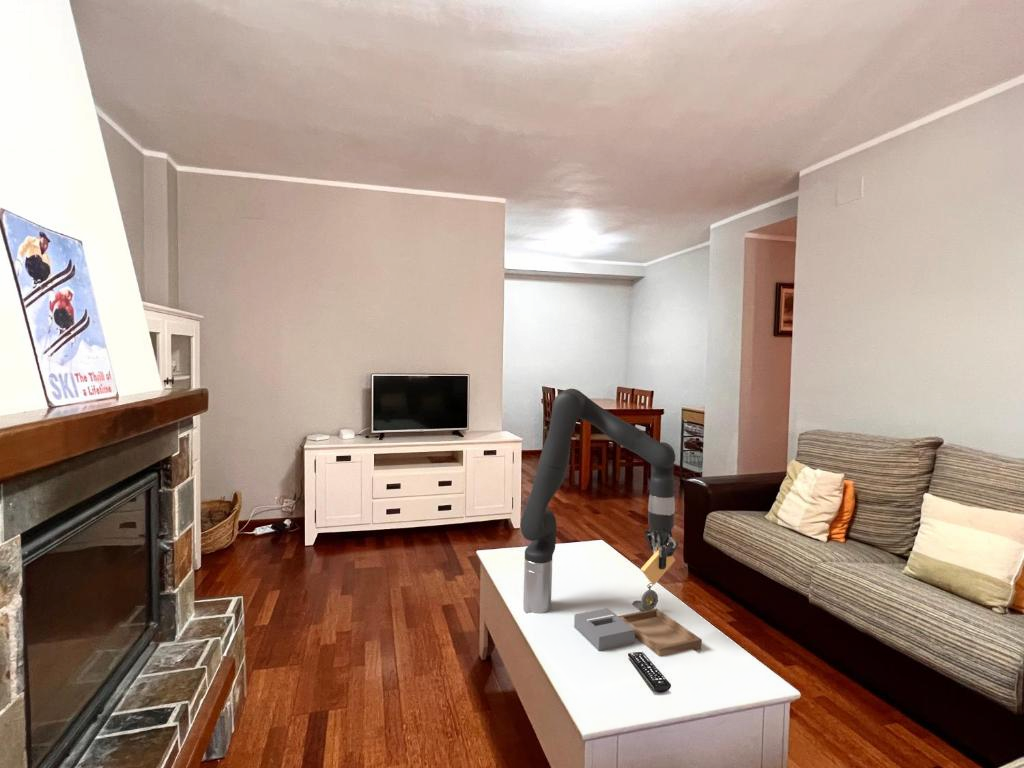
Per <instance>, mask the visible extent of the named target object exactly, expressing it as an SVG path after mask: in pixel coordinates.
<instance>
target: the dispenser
mask: <svg viewBox="0 0 1024 768" xmlns="http://www.w3.org/2000/svg"><path fill="white" fill-rule="evenodd" d="M618 616H619V615H617V614H616V613H615V612H614V611H612V610H611V609H609V608H608V607H607V608H603V609H597V610H591V611H585V612H579V613H576V614H574V621H573V622H574V623H573V628H574V629H575V630H576V631H577V632H578V633H579V634H580V635H581V636H583V638H585V639H586V640H587V642H588V643H590V645H592V646H593V647H594V649H596V651H598V652H601V651H606V650H611V649H614V648H615V649H616V648H619V647H624V646H629V645H633V644H634V645H635V638H636V637H635V629H633V628H632V627H631V626H630V625H628V624H627V623H626V622H625V621H623V620H622V619H621V618H620V617H618Z"/></svg>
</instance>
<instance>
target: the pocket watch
mask: <svg viewBox="0 0 1024 768" xmlns="http://www.w3.org/2000/svg"><path fill="white" fill-rule="evenodd" d="M653 586H654V584H652V583H651V582H650V583H648V584H647V585H646V587H647V588H648V590H646V591H645V592H643V594H642V595H641V598H640V600H635V601H633V602H632V603H631V605H632V606H633V607H635V608H636V609H637V610H639V612H641V611H647V610H652V609H655V607H657V604H658V601H659V596H658V594H657V592H656V591H655V590H653V589H652V587H653Z"/></svg>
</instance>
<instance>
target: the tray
mask: <svg viewBox="0 0 1024 768" xmlns="http://www.w3.org/2000/svg"><path fill="white" fill-rule="evenodd" d="M617 616H618V617H620V618H621V619H622V620H623V621H625V622H626V623H627V624H628V625H630V626H631V627H632V628H633V629H635V637H634V638H636V639H637V640H638V641H640V642H641V643H642V644H643V645H645V646H646V647H647V648H648V649H650V650H651V651H652V652H653V654H655V655H657V656H658V657H662V656H668V655H671V654H674V653H676V654H677V653H679V652H683V651H687V650H691V649H692V650H693V651H694V652H696V651H702V643H703V642H702V641H703V640H702V638H700V637H699V636H697V635H696V634H694V633H693V632H691V631H690V630H689V629H688V628H686V627H684V626H683V625H681V624H680V623H679V622H677V621H676V620H674V619H673V618H671V616H669V615H667V614H666V613H664V612H663V611H661V610H660V609H658V608H653V609H652V610H647V611H638V612H631V613H627V614H622V615H617Z"/></svg>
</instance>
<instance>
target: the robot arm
mask: <svg viewBox="0 0 1024 768" xmlns="http://www.w3.org/2000/svg"><path fill="white" fill-rule="evenodd" d="M551 408H552V410H551V417H550V423H549V429H548V433H547V435H546V438H545V440H544V444H543V447H542V451H541V453H540V457H539V461H538V464H537V469H536V472H535V476H534V480H533V484H532V488H531V491H530V494H529V496H528V500H527V503H526V505H525V506H524V507H525V508H524V510H523V513H522V516H521V519H520V524H519V525H520V532H521V534H522V536H523V538H524V539H525V540H527V541H530V544H528V545H527V547H526V548H525V550H524V566H523V567H524V571H523V572H524V573H523V597H522V598H523V600H522V601H523V605H522V606H523V607H522V609H523V611H524V613H526V614H545V613H548V612H549V611H551V610H552V592H553V590H552V589H553V587H552V586H553V585H552V583H553V555H554V553H555V550H556V540H557V519H556V516H555V514H554V513H553V511H552V510H551V509H548V505H549V503H550V502H551V500H552V499H553V497H554V496H555V494H556V493H557V492H558V490H559V489H560V487H561V486H562V484H563V483H564V480H565V477H566V474H567V471H568V467H569V465H570V464H569V463H570V458H571V441H572V437H573V433H574V430H575V427H576V424H577V422H578V420H583V421H585V422H587V423H589V424H591V425H593V426H594V427H596V429H598V430H600V431H601V432H602V433H603V434H604V435H605V436H606V437H608V438H609V439H611V440H612V441H613V442H615V443H616V444H617V445H620V446H621V447H623V448H625V449H627V450H628V451H630V452H632V453H635V454H636V455H638V456H639V457H640V458H642V459H644V461H646V462H647V463H649V464H650V480H649V496H648V505H647V506H648V513H647V516H648V517H647V524H648V525H649V526H650V527H649V529H645V530H644V531H643V532H644V535H645V538H646V542H647V545H648V549H649V551H652V553H653V554H654V553H655V552H656V551H657V550H658V549H659V569H665V568H666V558H667V557H669V556H673V554H674V553H675V551H676V550H677V547H678V546H679V542H678V541H677V540H674V539H673V533H672V529H673V528H674V527H675V512H676V511H675V507H676V503H675V478H674V470H675V469H674V468H675V461H676V453H675V450H674V449H675V448H673V446H672V445H670V444H669V443H667V442H664V441H663V442H662V441H661V442H660V441H659V440H656V439H655V438H652V437H651V436H649V435H648V434H647V433H646V432H645V431H643V430H641V429H640V428H638V427H636V426H634V425H633V424H630V423H629V422H626V421H625V420H623V419H622V418H620V417H618V416H616V415H614V414H612V413H611V412H609V410H606V409H604V408H603V407H601V406H600V405H598V404H597V403H596V402H594V401H593V400H591V399H590V398H589V397H588V396H587V395H586V394H584V393H583V392H581V391H580V390H578V389H576V388H567V389H565V390H563V391H561V392H560V393H559V394H557V396H556V397H555V399H554V400H553V403H552V407H551ZM663 550H664V552H663Z"/></svg>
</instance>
